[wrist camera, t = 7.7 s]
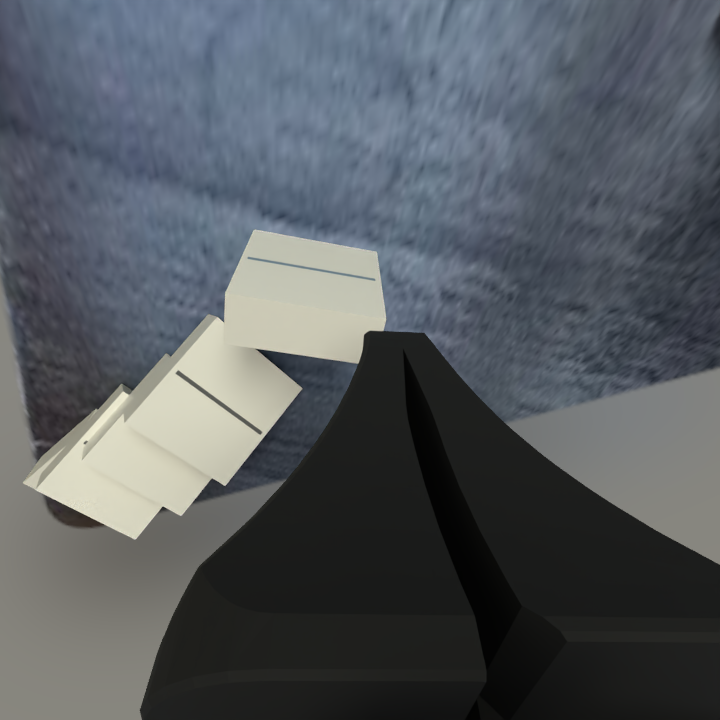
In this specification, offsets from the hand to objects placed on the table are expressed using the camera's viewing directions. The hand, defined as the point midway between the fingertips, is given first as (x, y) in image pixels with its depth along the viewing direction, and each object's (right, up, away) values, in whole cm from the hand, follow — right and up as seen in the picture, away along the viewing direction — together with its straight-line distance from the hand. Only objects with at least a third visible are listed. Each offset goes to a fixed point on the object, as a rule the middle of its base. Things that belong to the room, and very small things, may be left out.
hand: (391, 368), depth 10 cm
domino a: (-5, +1, +10) cm, 11 cm away
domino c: (-10, -3, +12) cm, 16 cm away
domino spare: (-3, +4, +8) cm, 9 cm away
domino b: (-7, -1, +11) cm, 13 cm away
